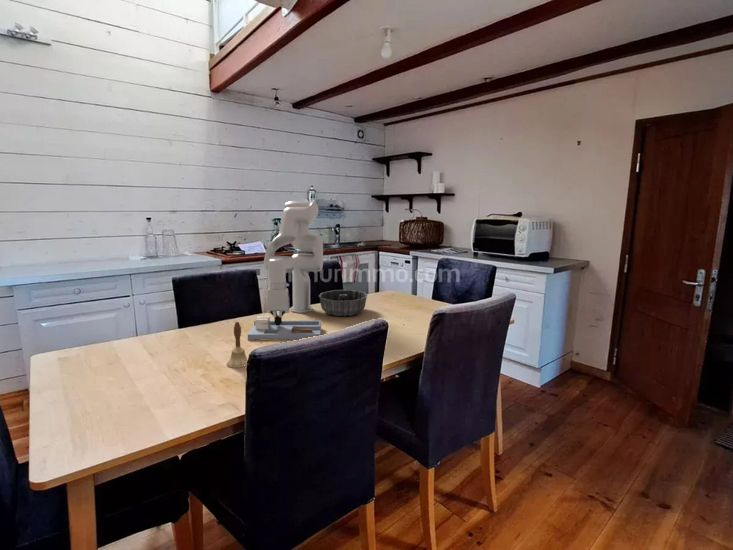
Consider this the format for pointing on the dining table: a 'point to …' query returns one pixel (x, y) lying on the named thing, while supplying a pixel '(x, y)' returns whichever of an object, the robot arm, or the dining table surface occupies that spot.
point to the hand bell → (237, 350)
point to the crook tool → (301, 330)
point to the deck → (285, 330)
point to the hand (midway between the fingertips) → (278, 324)
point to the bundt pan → (343, 302)
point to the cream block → (262, 322)
